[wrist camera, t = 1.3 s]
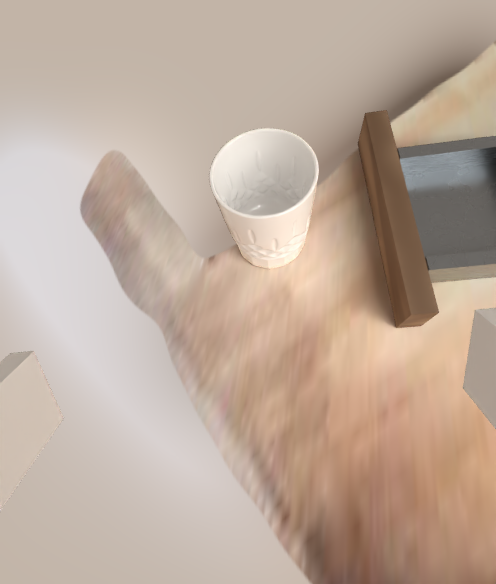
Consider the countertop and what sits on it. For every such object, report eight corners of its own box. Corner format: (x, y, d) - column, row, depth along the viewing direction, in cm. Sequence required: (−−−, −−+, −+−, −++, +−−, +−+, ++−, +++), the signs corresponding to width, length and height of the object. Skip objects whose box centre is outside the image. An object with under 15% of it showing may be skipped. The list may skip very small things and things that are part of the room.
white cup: (220, 221, 36) (194, 151, 26) (291, 192, 36) (290, 112, 27) (248, 287, 33) (231, 235, 24) (325, 255, 33) (338, 191, 24)
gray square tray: (506, 156, 34) (526, 131, 32) (551, 271, 30) (579, 255, 27) (384, 171, 36) (392, 148, 33) (410, 284, 31) (423, 270, 28)
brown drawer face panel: (377, 141, 37) (386, 110, 33) (420, 326, 30) (438, 312, 26) (357, 144, 37) (365, 113, 33) (396, 327, 30) (411, 314, 26)
